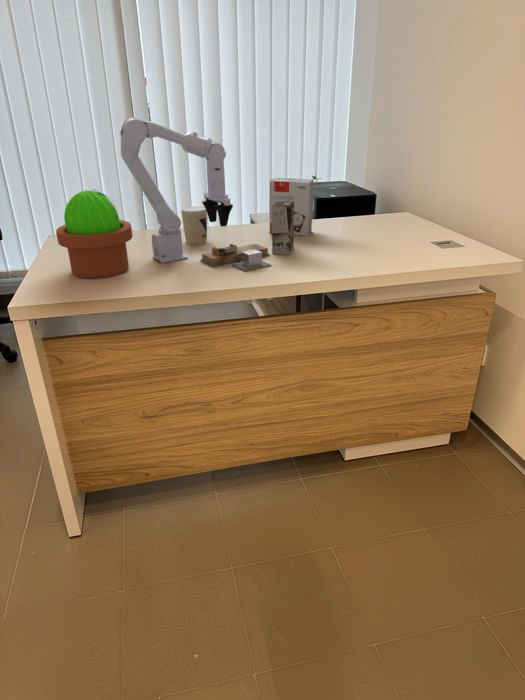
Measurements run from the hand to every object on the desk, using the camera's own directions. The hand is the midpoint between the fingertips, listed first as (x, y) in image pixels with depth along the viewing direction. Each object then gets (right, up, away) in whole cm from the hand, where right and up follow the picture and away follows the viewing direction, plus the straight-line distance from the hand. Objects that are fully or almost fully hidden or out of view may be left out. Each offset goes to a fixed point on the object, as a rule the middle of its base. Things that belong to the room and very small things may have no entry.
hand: (218, 223), depth 175 cm
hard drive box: (+26, +3, +28) cm, 38 cm away
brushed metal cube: (+12, -15, -9) cm, 21 cm away
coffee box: (+22, -8, +5) cm, 24 cm away
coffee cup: (-10, -2, +18) cm, 21 cm away
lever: (+2, -10, -5) cm, 11 cm away
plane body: (+6, -12, -2) cm, 13 cm away
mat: (+11, -16, -9) cm, 21 cm away
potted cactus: (-36, -17, -11) cm, 42 cm away
